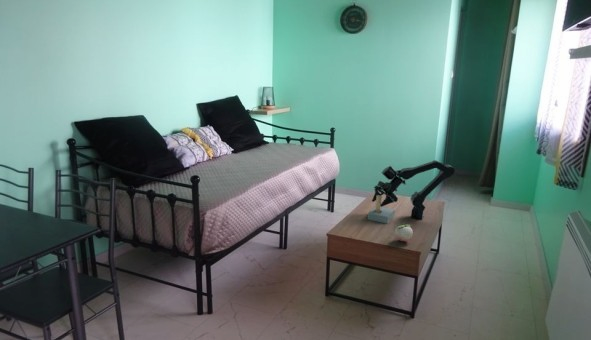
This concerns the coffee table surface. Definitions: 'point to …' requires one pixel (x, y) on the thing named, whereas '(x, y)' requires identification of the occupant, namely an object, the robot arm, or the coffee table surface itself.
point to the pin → (378, 203)
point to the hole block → (381, 215)
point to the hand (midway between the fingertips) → (376, 203)
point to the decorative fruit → (404, 232)
